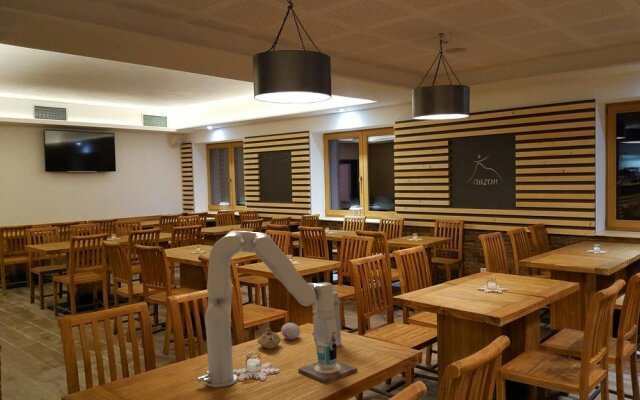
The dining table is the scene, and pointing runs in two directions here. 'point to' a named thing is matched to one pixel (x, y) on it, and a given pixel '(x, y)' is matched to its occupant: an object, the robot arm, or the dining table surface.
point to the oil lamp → (269, 339)
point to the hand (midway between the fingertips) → (326, 356)
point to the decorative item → (290, 331)
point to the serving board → (327, 371)
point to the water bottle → (337, 314)
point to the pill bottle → (325, 356)
